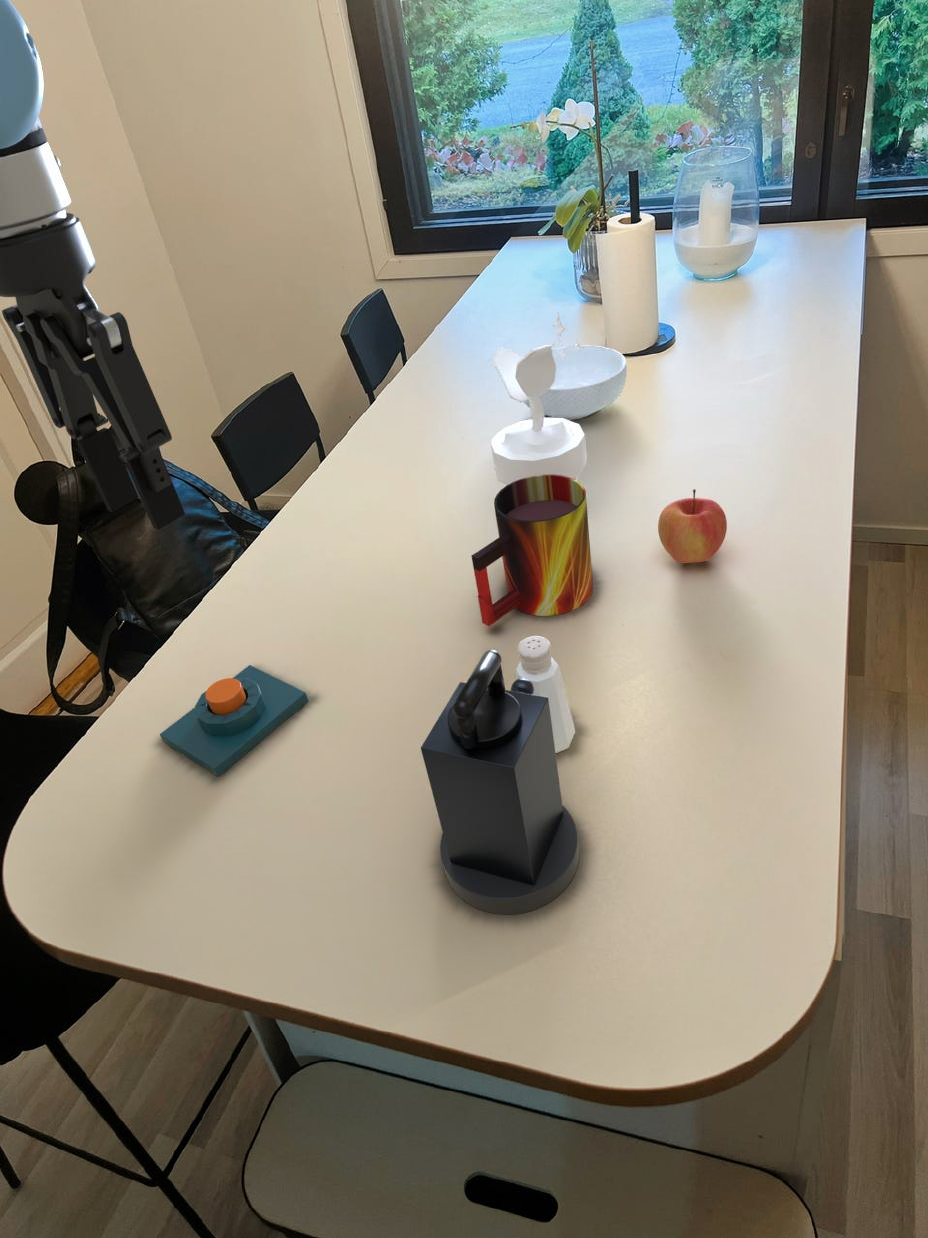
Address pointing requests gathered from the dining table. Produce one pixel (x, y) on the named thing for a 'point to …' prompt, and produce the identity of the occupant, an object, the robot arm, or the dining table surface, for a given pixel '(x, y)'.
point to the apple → (692, 529)
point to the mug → (538, 549)
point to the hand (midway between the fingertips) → (145, 511)
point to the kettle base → (513, 894)
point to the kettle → (495, 774)
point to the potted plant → (535, 420)
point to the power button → (225, 696)
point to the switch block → (234, 722)
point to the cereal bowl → (584, 381)
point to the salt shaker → (547, 686)
